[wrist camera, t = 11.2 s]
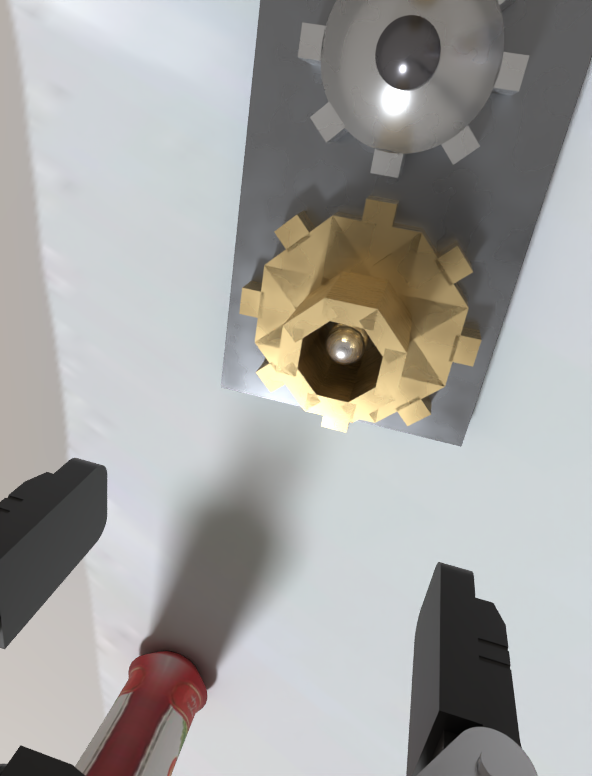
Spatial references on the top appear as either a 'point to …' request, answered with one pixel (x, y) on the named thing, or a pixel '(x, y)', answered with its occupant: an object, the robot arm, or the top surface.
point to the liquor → (147, 719)
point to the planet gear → (361, 315)
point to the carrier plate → (423, 192)
